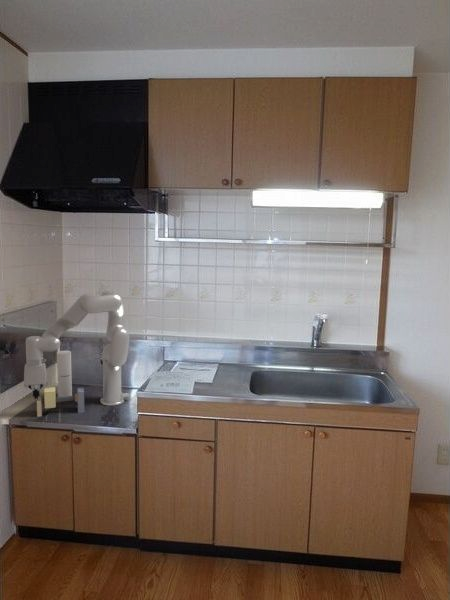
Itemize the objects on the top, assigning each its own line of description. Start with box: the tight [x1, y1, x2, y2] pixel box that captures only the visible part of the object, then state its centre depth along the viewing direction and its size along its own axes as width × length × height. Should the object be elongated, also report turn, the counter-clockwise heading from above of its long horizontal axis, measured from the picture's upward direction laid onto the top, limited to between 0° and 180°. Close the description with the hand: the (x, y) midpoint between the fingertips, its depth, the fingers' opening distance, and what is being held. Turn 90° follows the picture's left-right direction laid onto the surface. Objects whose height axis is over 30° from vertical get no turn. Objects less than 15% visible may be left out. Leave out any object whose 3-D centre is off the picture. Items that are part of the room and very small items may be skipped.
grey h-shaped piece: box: [36, 387, 85, 418], centre depth 224 cm, size 22×6×11 cm, turn 110°
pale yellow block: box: [43, 386, 57, 409], centre depth 222 cm, size 5×6×8 cm
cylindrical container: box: [56, 350, 73, 397], centre depth 244 cm, size 7×7×25 cm
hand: (36, 397), depth 219 cm, fingers closed
